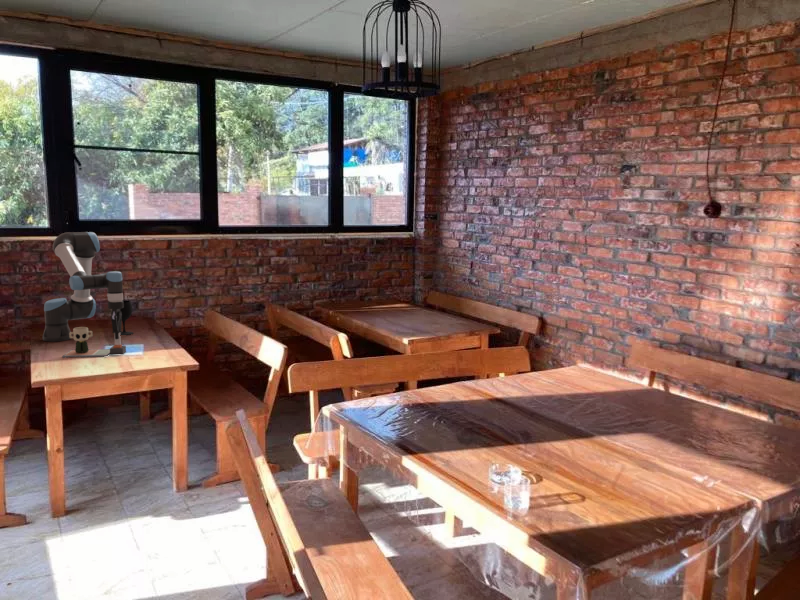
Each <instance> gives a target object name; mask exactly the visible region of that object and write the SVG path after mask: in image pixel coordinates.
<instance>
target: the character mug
mask: <svg viewBox="0 0 800 600" xmlns="http://www.w3.org/2000/svg"><path fill="white" fill-rule="evenodd" d="M71 334H72V335H71ZM69 336H70V338H71V339H73V340H74V341H76V343H75V349H74V350H75V351H76V352H77V353H81V351H83V352H87V351H88V350H89V346H88V345H89V344H88V341H87V340H89V338H92V337H93V331H92V330H89V328H88V327H86V326H79V327H74V328H73V329H72V331H71V332H70V333H69Z"/></svg>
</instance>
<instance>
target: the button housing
mask: <svg viewBox="0 0 800 600" xmlns="http://www.w3.org/2000/svg"><path fill="white" fill-rule="evenodd" d="M109 349H110V354H123V355H125V354H126V353H127V346H126V345H122V348H114V345H113V346H111V347H110V348H109Z"/></svg>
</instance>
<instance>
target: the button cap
mask: <svg viewBox="0 0 800 600" xmlns="http://www.w3.org/2000/svg"><path fill="white" fill-rule="evenodd" d="M113 346H114V348H122V346H123V344H122V343H121V345H115V344H114V345H113Z"/></svg>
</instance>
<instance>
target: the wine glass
mask: <svg viewBox="0 0 800 600" xmlns="http://www.w3.org/2000/svg"><path fill="white" fill-rule="evenodd" d="M122 301H123V304H124V307H123V308H121V309H120V311H121V312H122V316H121V323H122V327H123V328H122V332H120V335H126V336H131V334H132V335H133V334H134V332H133V331H126V321H127V320H128V319H129V318H130V317H132V315H133V304H132V302H131V300H122Z"/></svg>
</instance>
